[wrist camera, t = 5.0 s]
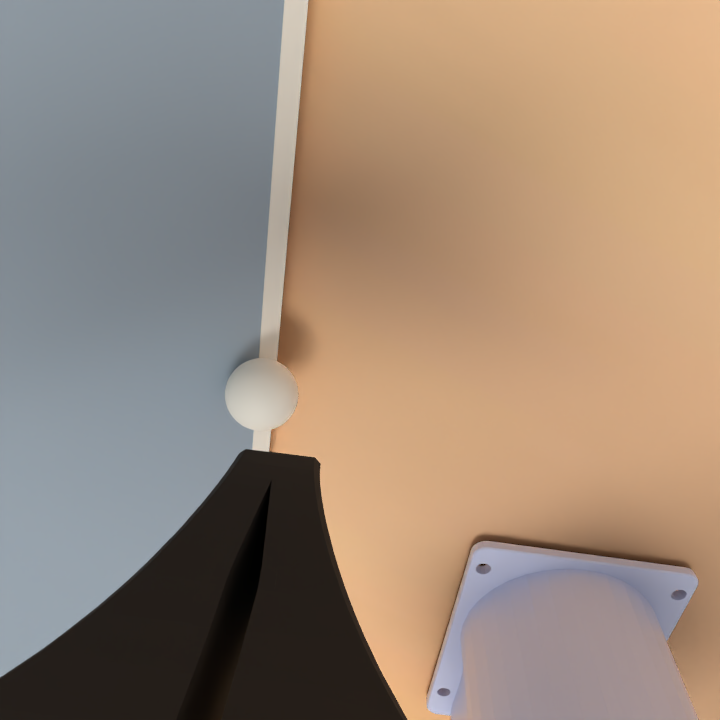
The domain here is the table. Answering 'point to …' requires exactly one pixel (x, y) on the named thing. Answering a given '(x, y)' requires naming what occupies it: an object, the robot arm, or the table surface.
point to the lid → (134, 280)
